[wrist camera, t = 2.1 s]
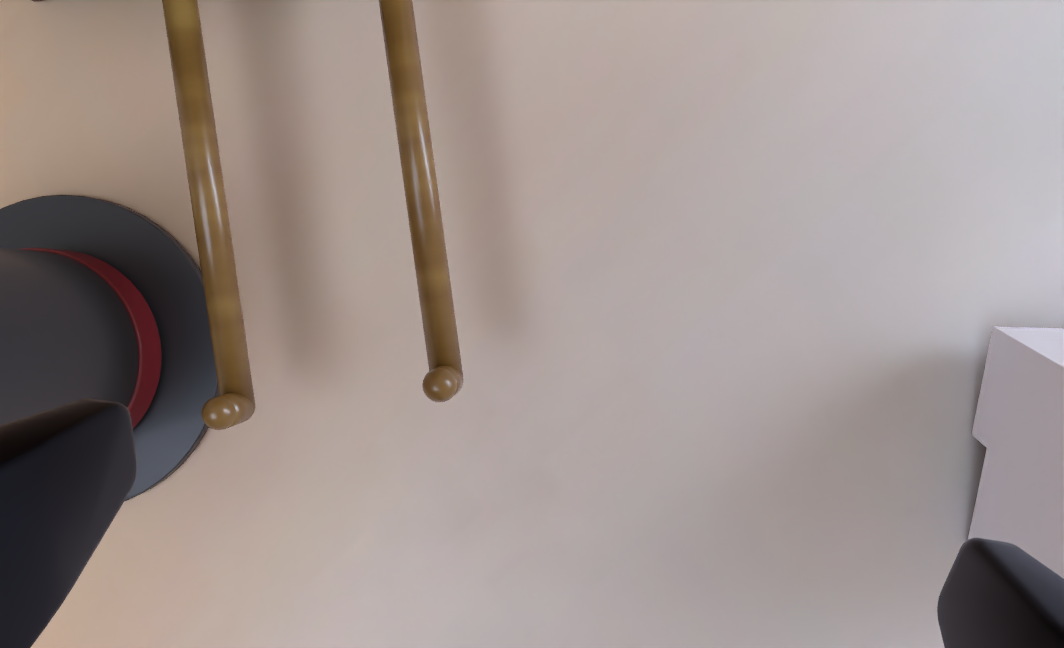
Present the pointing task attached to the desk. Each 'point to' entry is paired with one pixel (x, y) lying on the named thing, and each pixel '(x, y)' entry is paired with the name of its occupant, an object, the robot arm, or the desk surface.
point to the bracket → (1023, 443)
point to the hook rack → (214, 221)
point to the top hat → (104, 323)
